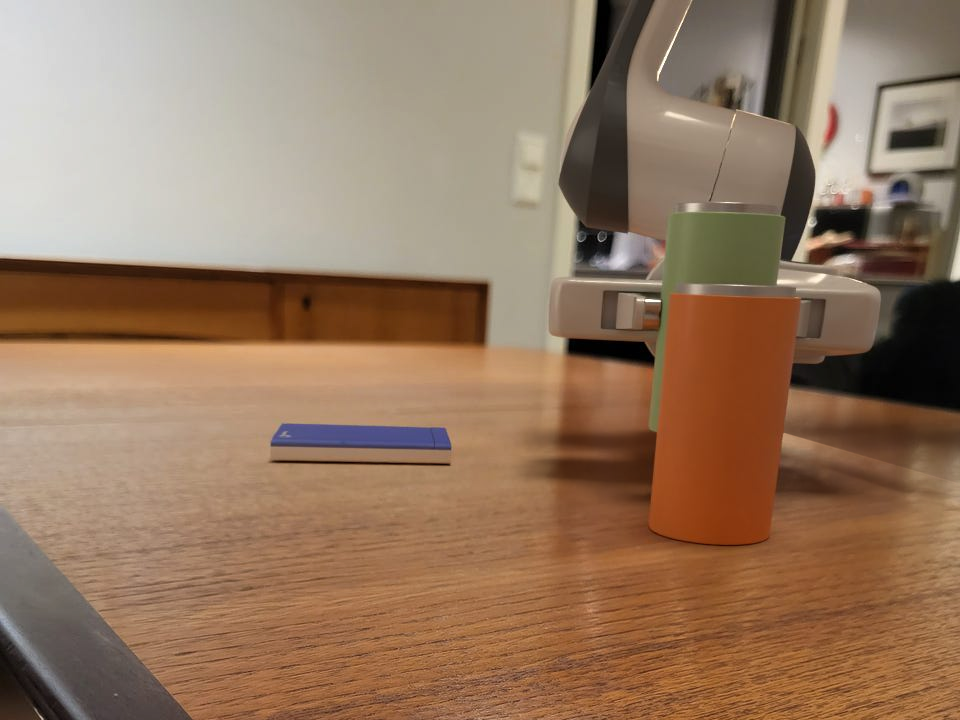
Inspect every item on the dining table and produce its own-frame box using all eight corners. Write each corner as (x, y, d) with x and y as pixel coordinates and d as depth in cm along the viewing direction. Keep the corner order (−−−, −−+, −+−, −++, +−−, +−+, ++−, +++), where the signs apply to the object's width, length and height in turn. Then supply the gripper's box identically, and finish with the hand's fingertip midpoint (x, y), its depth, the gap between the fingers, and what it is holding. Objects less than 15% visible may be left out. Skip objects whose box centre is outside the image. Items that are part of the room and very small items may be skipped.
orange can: (732, 514, 58) (760, 285, 53) (792, 542, 52) (829, 287, 48) (630, 517, 56) (650, 281, 52) (679, 547, 50) (707, 283, 46)
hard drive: (269, 439, 68) (451, 443, 69) (281, 421, 76) (445, 425, 77) (270, 462, 68) (451, 465, 70) (282, 442, 76) (444, 446, 77)
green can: (725, 423, 64) (750, 211, 59) (777, 440, 58) (809, 206, 54) (632, 423, 62) (651, 205, 58) (676, 440, 56) (701, 199, 52)
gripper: (556, 256, 70) (538, 251, 57) (858, 266, 68) (911, 264, 55) (550, 349, 72) (532, 365, 59) (843, 363, 70) (890, 383, 57)
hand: (717, 317), depth 57 cm, fingers closed on green can, 6 cm apart
